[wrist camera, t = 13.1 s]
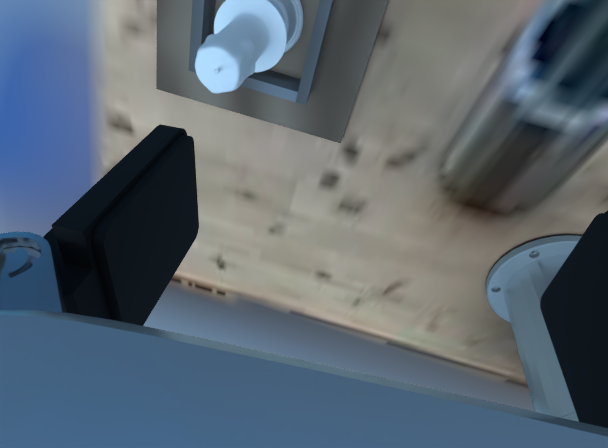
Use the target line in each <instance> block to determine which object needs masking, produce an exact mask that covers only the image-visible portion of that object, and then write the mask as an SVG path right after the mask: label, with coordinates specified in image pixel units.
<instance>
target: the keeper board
mask: <svg viewBox="0 0 608 448" xmlns="http://www.w3.org/2000/svg"><path fill="white" fill-rule="evenodd" d="M225 1H226V0H157V89H159V90H162V91H166V92H169V93H172V94H176V95H179V96H183V97H186V98H189V99H193V100H196V101H200V102H203V103H206V104H210V105H213V106H216V107H220V108H223V109H227V110H230V111H233V112H237V113H240V114H244V115H247V116H250V117H254V118H257V119H261V120H264V121H267V122H271V123H274V124H277V125H281V126H284V127H288V128H291V129H294V130H298V131H301V132H305V133H308V134H311V135H315V136H318V137H322V138H325V139H328V140H332V141H335V142H339V143H341V141H342V138H343V135H344V132H345V129H346V126H347V123H348V120H349V117H350V114H351V111H352V108H353V105H354V102H355V99H356V96H357V93H358V90H359V87H360V84H361V81H362V78H363V75H364V72H365V69H366V66H367V63H368V60H369V57H370V54H371V51H372V48H373V45H374V42H375V39H376V36H377V33H378V30H379V27H380V24H381V21H382V18H383V15H384V12H385V9H386V6H387V3H388V0H300V3H301V6H302V10H303V28H302V32H301V34H300V37H299V39H298V40H297V42H296V43H295V44H294V46H293V47H292V48H290V49H289V50H288V51H286V52H284V53H283V55H282V57H281V59H280V60H279V61H278V63H277V64H276V65H274V66H273V67H272V68H270V69H268V70H266V71H262V72H254V73H253V74H252V75H250V76H248V77H247V78H246V79H245V81H244V82H243V83H242V84H241V85H240V86H239V87H238V88H237V89H236V90H234V91H230V92H223V93H212V92H211V91H209V90H208V89H207V88H206V87H205V86H204V85H203V84H202V83H201V81H200V80H199V78H198V76H197V74H196V70H195V60H196V56H197V51H198V49H199V48H200V46H201V45H202V44H203V43H204V42H205V40H206V38H207V36H209V35H211V34H214V21H215V17H216V14H217V11H218V9H219V8H220V6H221V5H222V4H223V3H224V2H225Z"/></svg>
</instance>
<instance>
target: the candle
mask: <svg viewBox="0 0 608 448" xmlns="http://www.w3.org/2000/svg"><path fill="white" fill-rule="evenodd" d="M302 28H303V10H302V6H301V3H300V0H226V1H225V2H224V3H223V4H222V5H221V6H220V8H219V9H218V11H217V14H216V17H215V21H214V34H211V35H209V36H207V38H206V40H205V42H204V43H203V44H202V45H201V46H200V48H199V49H198V51H197V56H196V60H195V70H196V74H197V76H198V78H199V80H200V81H201V83H202V84H203V85H204V86H205V87H206V88H207V89H208V90H209V91H211V92H212V93H223V92H230V91H234V90H236V89H237V88H238V87H239V86H240V85H241V84H242V83H243V82H244V81H245V79H246V78H247V77H248V76H250V75H252V74H253V73H254V72H262V71H266V70H268V69H270V68H272V67H273V66H274V65H276V64H277V63H278V61H279V60H280V59H281V57H282V55H283V53H284V52H286V51H288V50H289V49H290V48H292V47H293V46H294V44H295V43H296V42H297V40H298V39H299V37H300V34H301V32H302Z"/></svg>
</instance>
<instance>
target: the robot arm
mask: <svg viewBox="0 0 608 448" xmlns="http://www.w3.org/2000/svg"><path fill="white" fill-rule="evenodd" d="M198 228H199V220H198V203H197V186H196V169H195V153H194V140H193V138H192V137H191V136H187V133H186V131H185V130H184V129H182V128H176V127H171V126H165V125H159V126H157V127H156V128H155V129H154V130H153V131H152V132H151V133H150V134H149V135H147V136H146V137H145V138H144V139H143V140H142V141H141V142H140V143H139V144H138V145H137V146H136V147H135V148H134V149H133V150H131V151H130V152H129V153H128V154H127V155H126V156H125V157H124V158H123V159H122V160H121V161H120V162H119V163H118V164H117V165H115V166H114V167H113V168H112V169H111V170H110V171H109V172H108V173H107V174H106V175H105V176H104V177H103V178H102V179H100V180H99V181H98V182H97V183H96V184H95V185H94V186H93V187H92V188H91V189H90V190H89V191H88V192H87V193H86V194H84V195H83V196H82V197H81V198H80V199H79V200H78V201H77V202H76V203H75V204H74V205H73V206H72V207H71V208H69V209H68V211H66V212H65V213H64V214H63V215H62V216H61V217H60V218H59V219H58V220H57V221H56V222H55V223H53V224H52V229H51V230H50V231H49V232H48V233H47V234H46V235H45V236H44V237H42V236H40V235H37V234H34V233H30V232H9V233H2V234H0V448H608V211H607V212H605V213H601V214H598V215H597V216H596V217H595V218H594V219H593V221H592V222H591V224H590V225H589V227H588V228H587V230H586V231H585V233H584V234H583V235H582V236H572V235H565V236H552V237H548V238H543V239H538V240H535V241H532V242H529V243H526V244H524V245H522V246H520V247H518V248H516V249H514V250H512V251H511V252H509V253H508V254H506V255H505V256H503V257H502V258H501V259H500V260H499V261H498V262H497V263H496V264H495V265H494V267H493V268H492V270H491V271H490V273H489V275H488V278H487V281H486V293H487V298H488V301H489V304H490V306H491V308H492V309H493V310H494V312H495V313H496V314H497V315H499V316H500V317H501V318H502V319H504V320H506V321H508V322H509V323H511V326H512V329H513V333H514V337H515V340H516V344H517V348H518V351H519V355H520V359H521V363H522V366H523V370H524V374H525V377H526V381H527V385H528V388H529V392H530V396H531V399H532V403H533V407H534V411H535V412H533V411H529V410H524V409H520V408H516V407H512V406H507V405H503V404H498V403H494V402H490V401H485V400H481V399H476V398H472V397H467V396H463V395H458V394H454V393H449V392H445V391H441V390H436V389H432V388H427V387H423V386H418V385H414V384H409V383H404V382H400V381H396V380H391V379H387V378H382V377H377V376H373V375H369V374H364V373H360V372H355V371H351V370H346V369H342V368H337V367H332V366H328V365H324V364H319V363H314V362H310V361H305V360H301V359H296V358H291V357H287V356H282V355H278V354H273V353H268V352H263V351H259V350H254V349H249V348H245V347H241V346H236V345H232V344H227V343H222V342H218V341H213V340H208V339H204V338H199V337H195V336H190V335H184V334H180V333H175V332H170V331H165V330H160V329H155V328H150V327H145V326H143V325H144V323H145V321H146V320H147V318H148V316H149V315H150V313H151V311H152V309H153V308H154V306H155V305H156V303H157V302H158V300H159V298H160V297H161V295H162V293H163V292H164V290H165V288H166V287H167V285H168V283H169V282H170V280H171V278H172V277H173V275H174V273H175V272H176V270H177V268H178V267H179V265H180V263H181V262H182V260H183V258H184V257H185V255H186V253H187V252H188V250H189V248H190V247H191V245H192V243H193V242H194V240H195V238H196V236H197V233H198Z"/></svg>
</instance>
